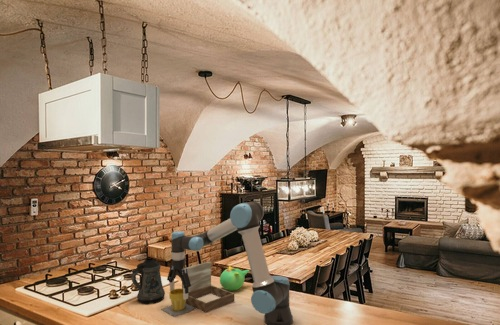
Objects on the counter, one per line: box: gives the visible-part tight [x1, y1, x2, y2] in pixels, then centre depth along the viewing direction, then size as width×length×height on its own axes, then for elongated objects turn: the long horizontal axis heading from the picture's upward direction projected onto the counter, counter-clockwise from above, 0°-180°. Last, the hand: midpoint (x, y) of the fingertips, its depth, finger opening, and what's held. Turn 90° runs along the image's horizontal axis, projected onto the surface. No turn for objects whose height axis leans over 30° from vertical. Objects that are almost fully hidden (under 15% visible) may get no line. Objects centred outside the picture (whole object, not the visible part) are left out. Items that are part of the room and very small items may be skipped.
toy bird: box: [219, 266, 251, 291], centre depth 229 cm, size 18×17×15 cm
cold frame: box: [181, 261, 235, 314], centre depth 208 cm, size 23×22×20 cm
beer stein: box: [130, 257, 166, 305], centre depth 212 cm, size 16×19×25 cm
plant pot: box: [168, 287, 186, 311], centre depth 197 cm, size 10×10×10 cm
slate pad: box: [160, 304, 197, 318], centre depth 197 cm, size 14×14×1 cm
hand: (178, 296), depth 197 cm, fingers open, 13 cm apart
